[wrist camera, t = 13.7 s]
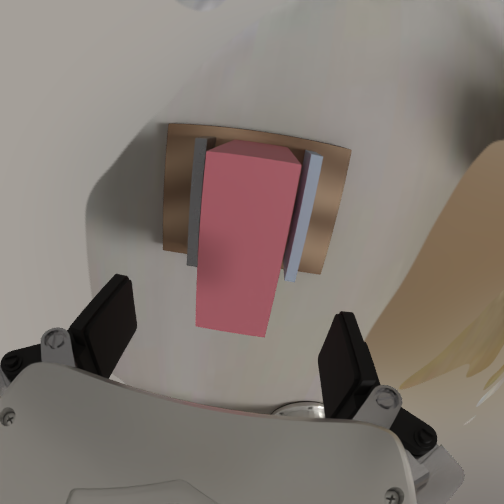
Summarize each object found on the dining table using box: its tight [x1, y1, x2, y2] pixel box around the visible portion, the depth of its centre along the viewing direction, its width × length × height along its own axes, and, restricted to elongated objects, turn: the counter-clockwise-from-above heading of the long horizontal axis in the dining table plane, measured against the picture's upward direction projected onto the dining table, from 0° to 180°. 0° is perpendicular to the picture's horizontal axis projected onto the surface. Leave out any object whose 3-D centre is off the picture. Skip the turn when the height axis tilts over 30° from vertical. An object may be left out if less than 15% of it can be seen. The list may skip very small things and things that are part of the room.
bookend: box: [187, 136, 216, 267], centre depth 25 cm, size 12×1×4 cm, turn 172°
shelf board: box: [163, 123, 352, 274], centre depth 28 cm, size 14×18×2 cm
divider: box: [283, 150, 323, 282], centre depth 25 cm, size 12×1×4 cm, turn 172°
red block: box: [196, 140, 301, 337], centre depth 22 cm, size 12×5×12 cm, turn 172°
